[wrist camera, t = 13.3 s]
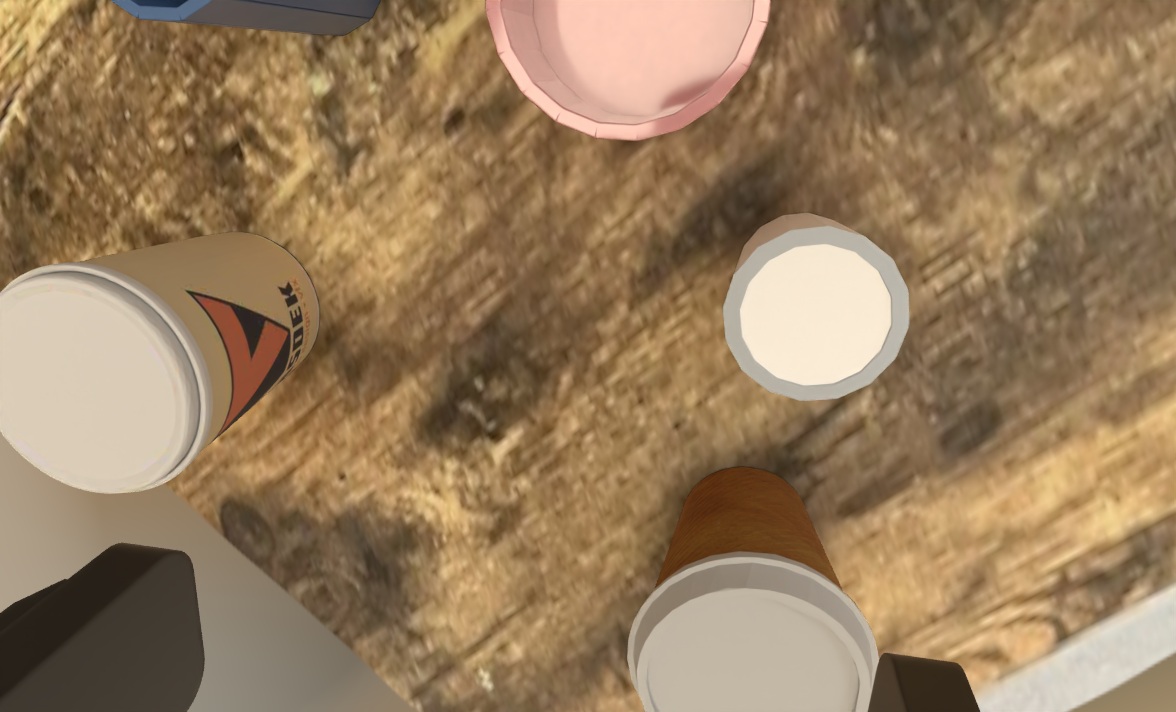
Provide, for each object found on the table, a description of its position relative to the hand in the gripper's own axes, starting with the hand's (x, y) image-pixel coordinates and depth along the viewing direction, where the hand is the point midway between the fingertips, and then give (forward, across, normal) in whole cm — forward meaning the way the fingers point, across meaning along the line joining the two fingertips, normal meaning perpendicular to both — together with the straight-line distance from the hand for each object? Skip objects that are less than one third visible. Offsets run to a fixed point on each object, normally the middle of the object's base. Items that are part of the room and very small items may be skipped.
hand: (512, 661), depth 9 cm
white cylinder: (+30, -6, +2) cm, 31 cm away
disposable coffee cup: (+30, -5, +15) cm, 34 cm away
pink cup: (+30, +2, -9) cm, 31 cm away
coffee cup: (+30, +21, +6) cm, 37 cm away
